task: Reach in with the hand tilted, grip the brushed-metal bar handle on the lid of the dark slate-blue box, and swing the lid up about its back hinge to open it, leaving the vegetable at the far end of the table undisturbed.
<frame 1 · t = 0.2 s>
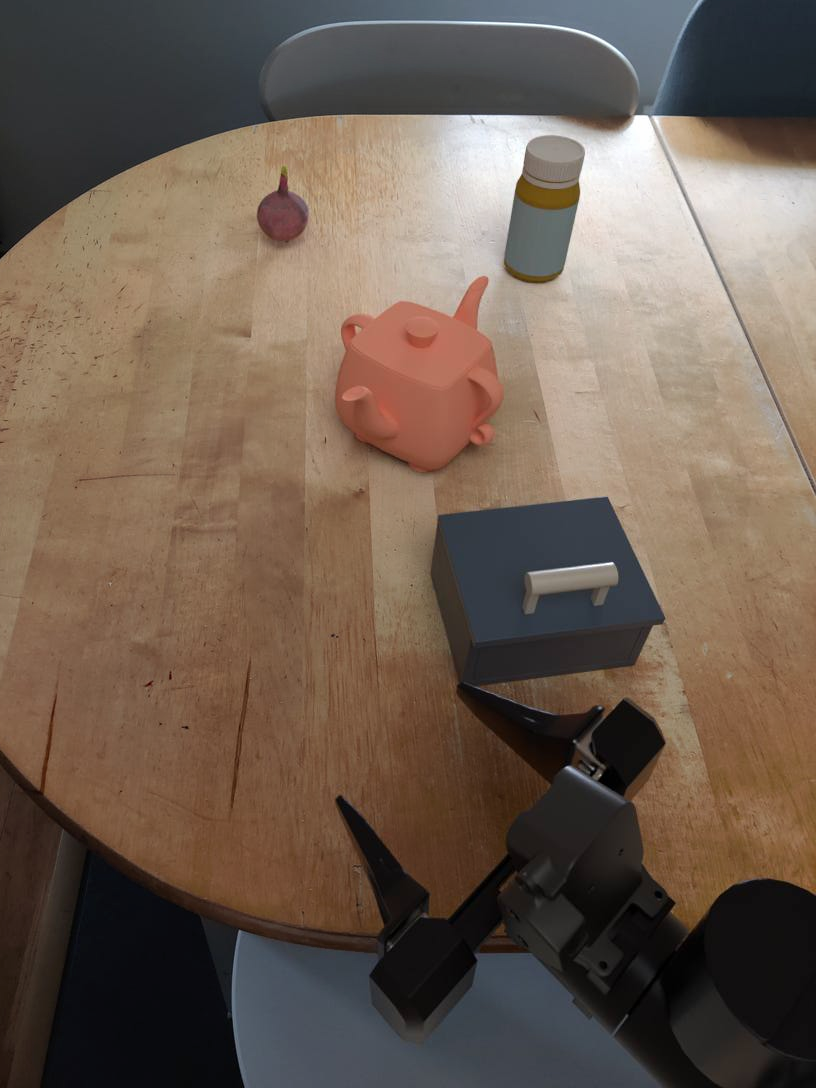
hand: (400, 741, 48), 15 cm above the table, tool horizontal, fingers open, 9 cm apart
teapot: (413, 430, 86), on the table
lid: (550, 550, 64), point 9 cm above the table, hinge at 0.0°
bottle: (532, 269, 105), on the table
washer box: (528, 617, 70), on the table
vegetable: (284, 244, 108), on the table
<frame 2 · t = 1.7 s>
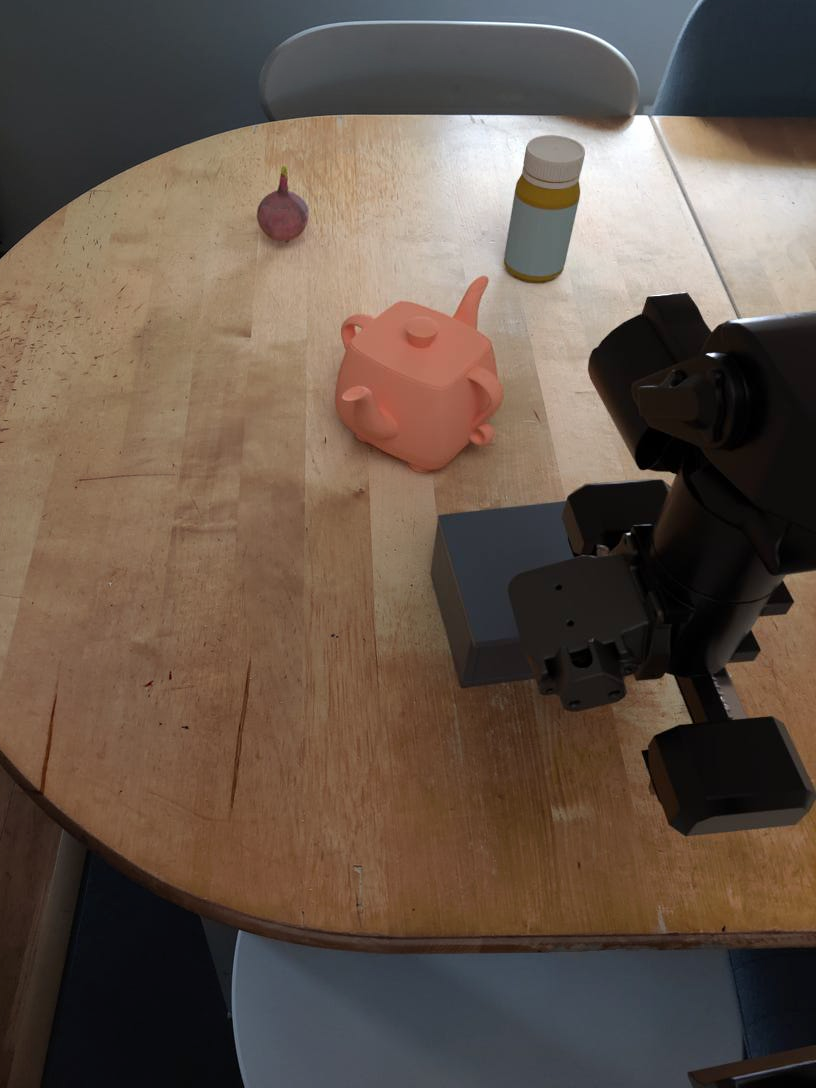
hand: (630, 711, 51), 13 cm above the table, tool pointing down, fingers open, 9 cm apart
nothing on the table moved.
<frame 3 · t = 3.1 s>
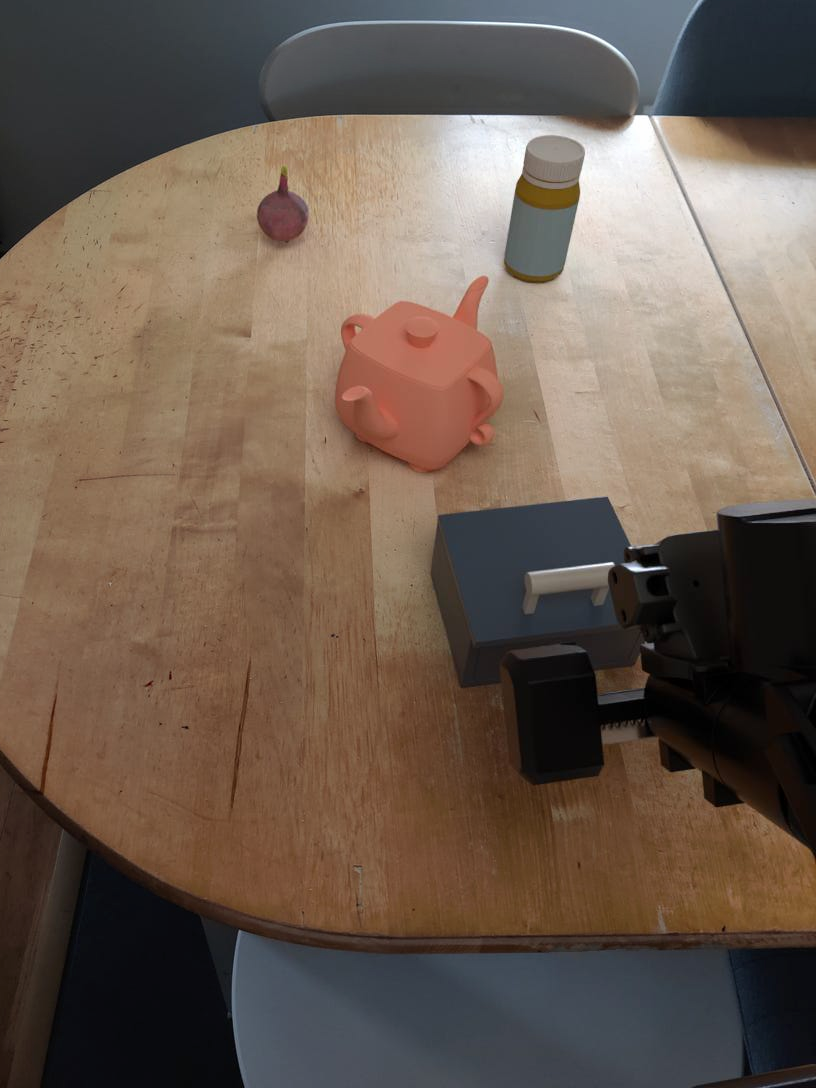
hand: (620, 655, 53), 13 cm above the table, tool tilted 45°, fingers open, 9 cm apart
nothing on the table moved.
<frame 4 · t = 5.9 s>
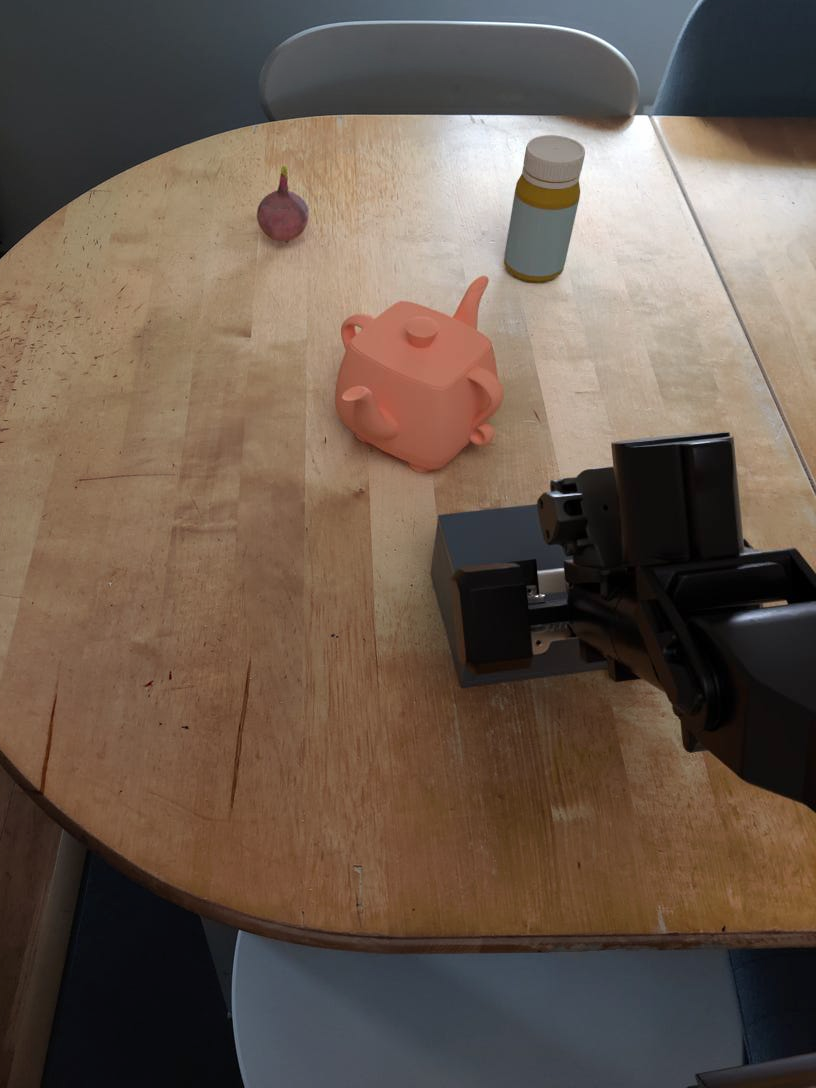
hand: (558, 582, 62), 9 cm above the table, tool tilted 45°, fingers closed on lid, 6 cm apart
lid: (550, 550, 64), point 9 cm above the table, hinge at 0.0°, touching gripper
everything else where it was.
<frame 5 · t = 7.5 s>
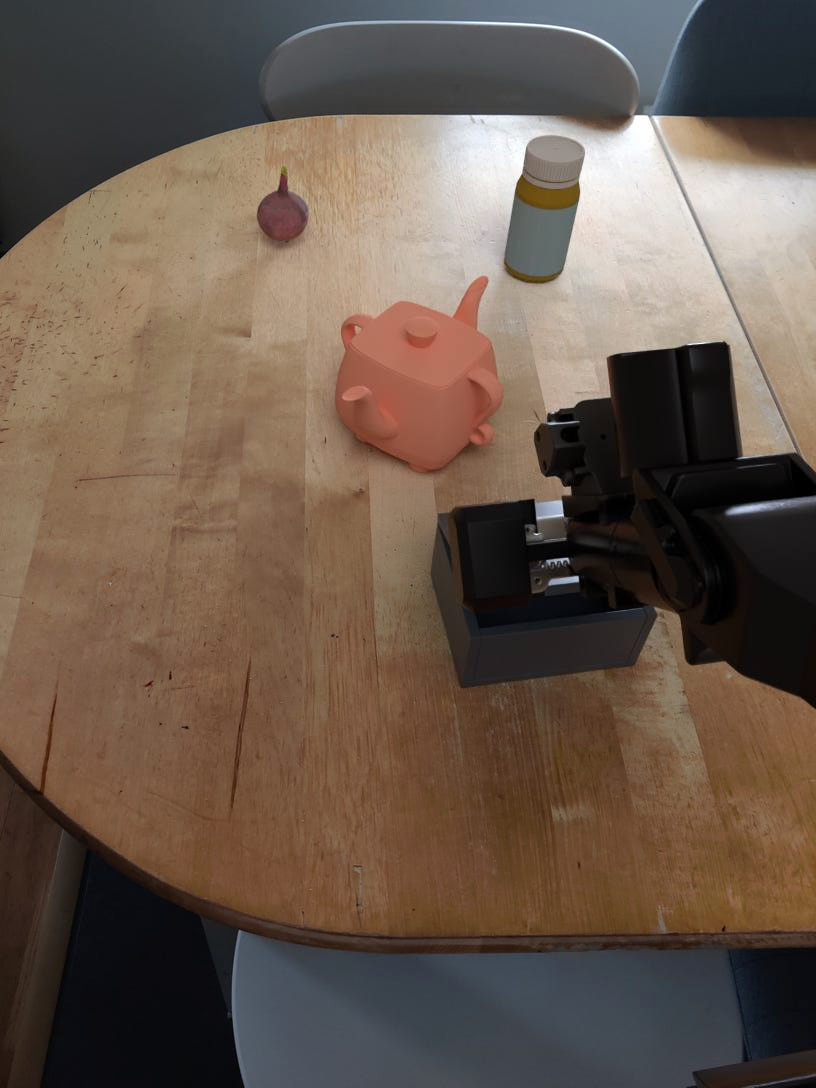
hand: (558, 533, 62), 12 cm above the table, tool tilted 40°, fingers closed on lid, 6 cm apart
lid: (549, 520, 63), point 11 cm above the table, hinge at 22.0°, touching gripper
everything else where it was.
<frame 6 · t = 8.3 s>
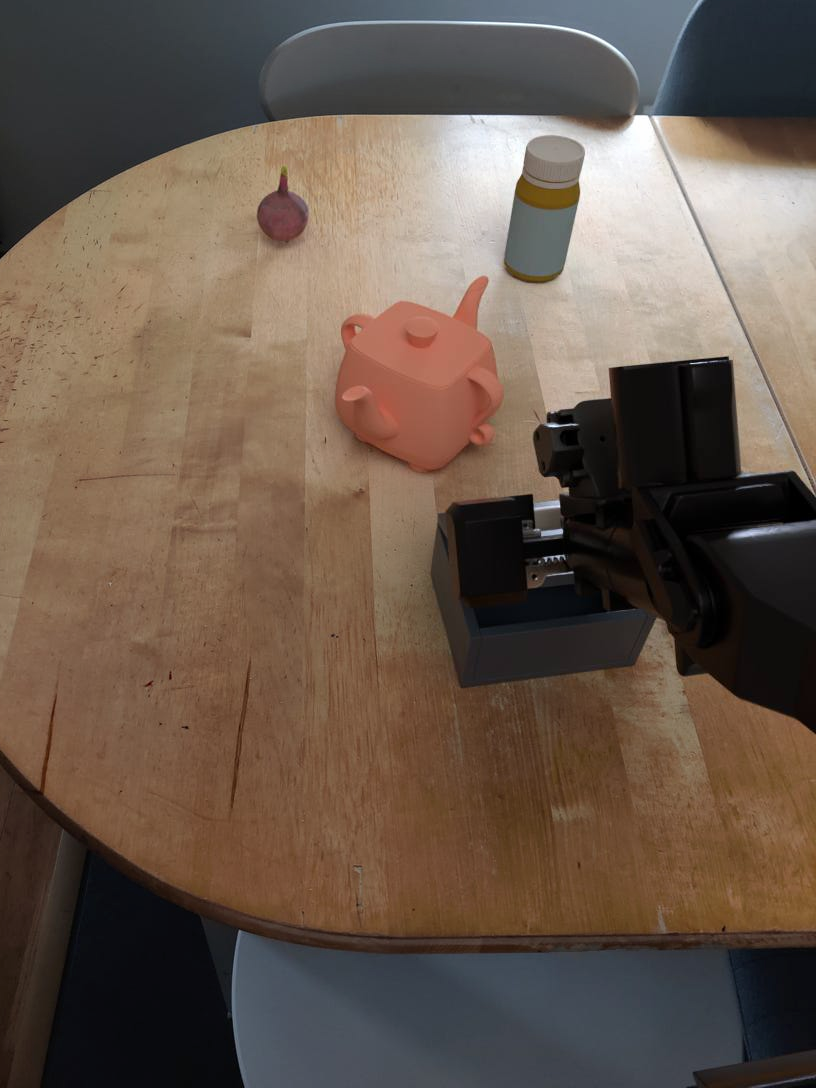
hand: (554, 521, 62), 12 cm above the table, tool tilted 45°, fingers closed on lid, 6 cm apart
lid: (549, 515, 63), point 12 cm above the table, hinge at 25.6°, touching gripper
everything else where it was.
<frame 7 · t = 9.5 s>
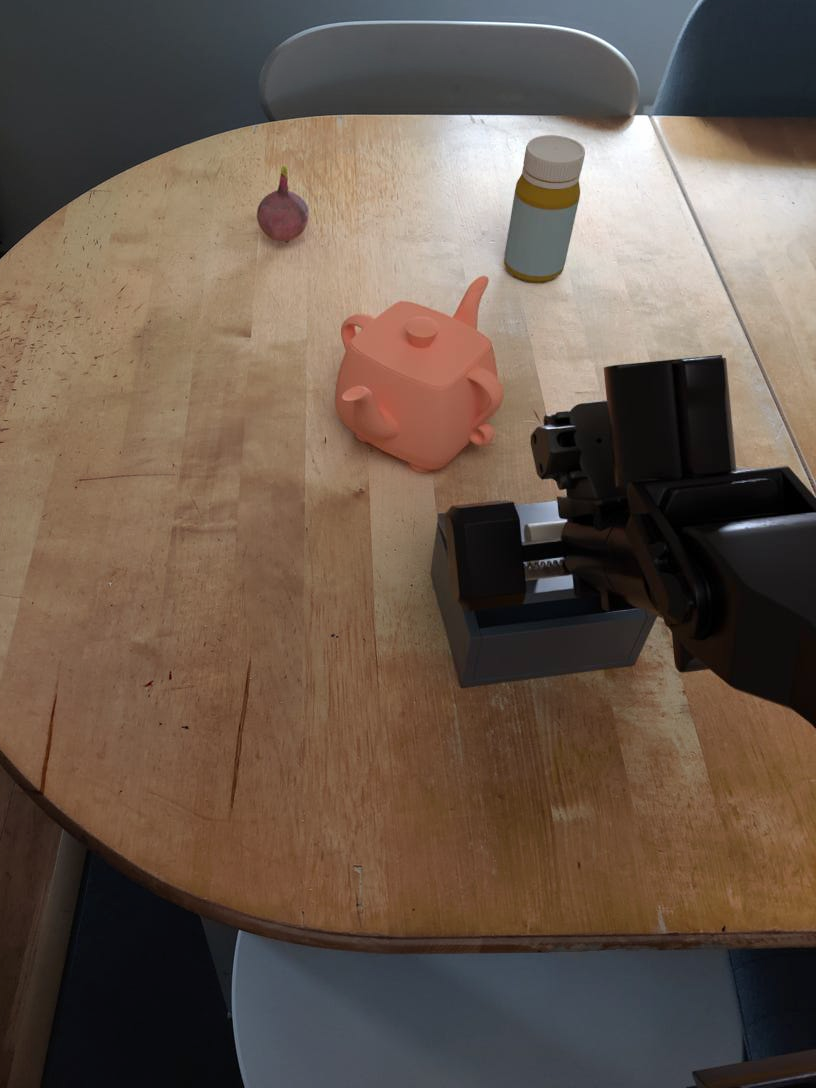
hand: (553, 528, 62), 11 cm above the table, tool tilted 45°, fingers open, 9 cm apart
lid: (550, 523, 63), point 11 cm above the table, hinge at 19.8°
everything else where it was.
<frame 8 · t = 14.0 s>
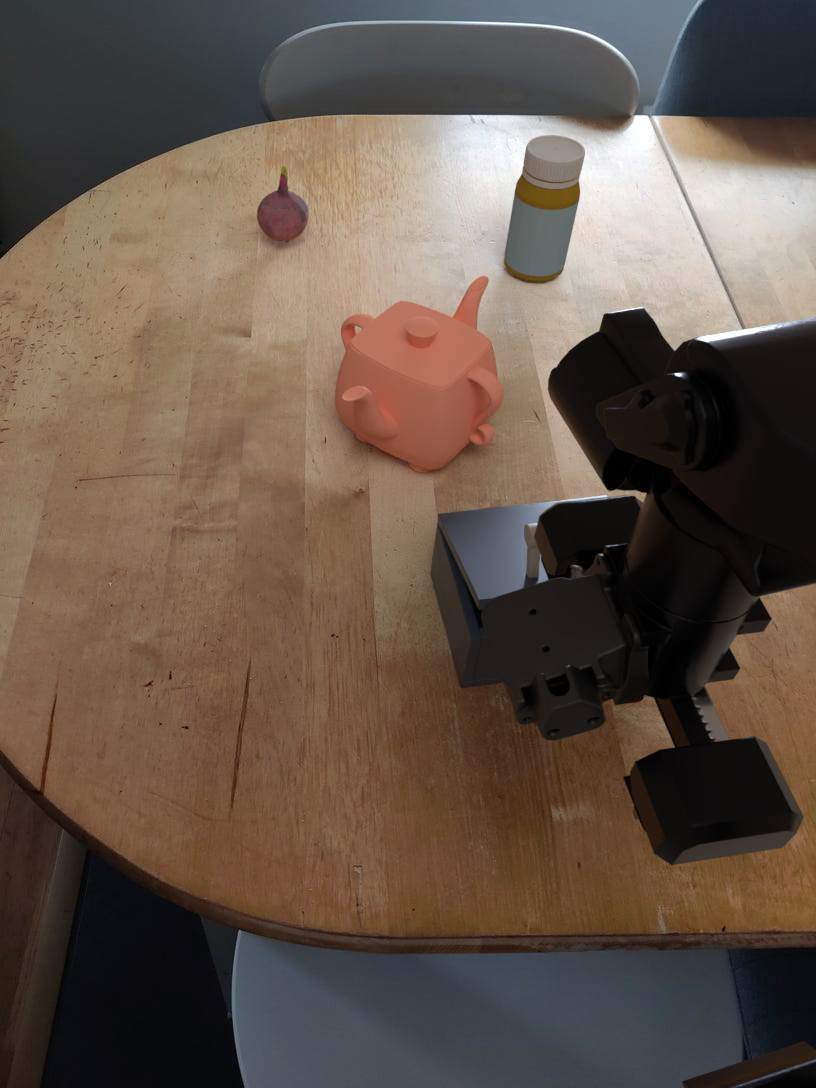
hand: (611, 733, 50), 13 cm above the table, tool pointing down, fingers open, 9 cm apart
nothing on the table moved.
at the end: lid at +20° (first picture: +0°); the gripper is holding nothing; vegetable moved 0.2 cm from its start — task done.
